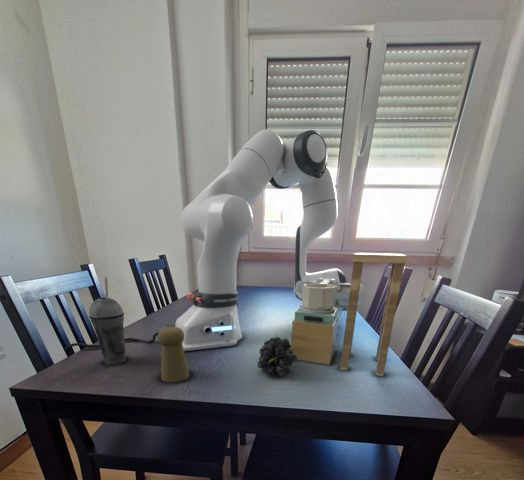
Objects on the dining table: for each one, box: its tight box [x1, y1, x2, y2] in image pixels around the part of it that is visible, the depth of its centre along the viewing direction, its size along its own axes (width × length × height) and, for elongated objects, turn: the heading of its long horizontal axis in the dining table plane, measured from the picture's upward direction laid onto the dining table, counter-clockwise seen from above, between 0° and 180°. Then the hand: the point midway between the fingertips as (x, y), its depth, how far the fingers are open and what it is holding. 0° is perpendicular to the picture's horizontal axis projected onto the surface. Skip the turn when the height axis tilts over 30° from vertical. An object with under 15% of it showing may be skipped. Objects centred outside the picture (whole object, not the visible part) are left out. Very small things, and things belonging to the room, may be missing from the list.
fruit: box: [257, 336, 298, 376], centre depth 66 cm, size 9×8×15 cm
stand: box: [339, 252, 408, 377], centre depth 65 cm, size 12×10×26 cm
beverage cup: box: [88, 277, 126, 365], centre depth 66 cm, size 7×7×20 cm
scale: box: [290, 304, 340, 366], centre depth 73 cm, size 10×10×13 cm
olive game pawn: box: [157, 326, 190, 383], centre depth 60 cm, size 6×6×11 cm
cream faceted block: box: [301, 279, 337, 310], centre depth 75 cm, size 19×8×5 cm, turn 159°
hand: (326, 281), depth 79 cm, fingers closed on cream faceted block
